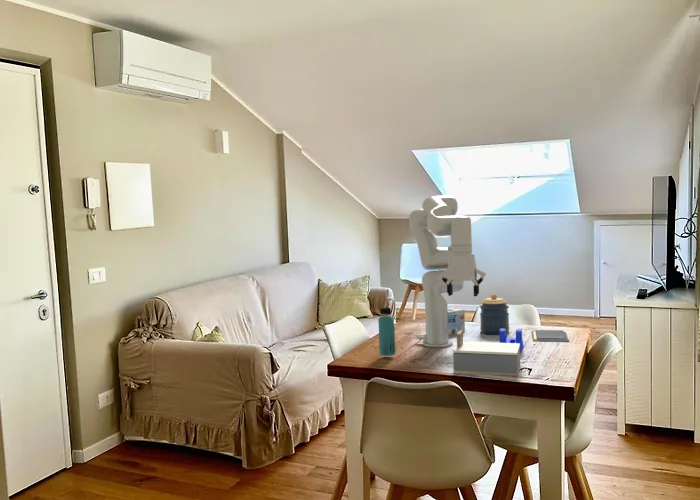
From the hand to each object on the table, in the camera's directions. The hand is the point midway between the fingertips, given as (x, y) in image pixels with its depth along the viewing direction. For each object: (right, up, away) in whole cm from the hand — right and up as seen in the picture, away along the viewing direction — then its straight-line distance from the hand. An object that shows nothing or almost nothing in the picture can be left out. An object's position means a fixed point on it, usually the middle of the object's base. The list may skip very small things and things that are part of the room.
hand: (463, 295), depth 224 cm
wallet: (+45, -22, +39) cm, 64 cm away
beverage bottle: (-27, -26, +15) cm, 41 cm away
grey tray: (+8, -26, -7) cm, 28 cm away
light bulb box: (+5, -22, +56) cm, 60 cm away
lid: (+7, -19, -7) cm, 21 cm away
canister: (+25, -21, +53) cm, 62 cm away
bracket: (+25, -23, +23) cm, 41 cm away
